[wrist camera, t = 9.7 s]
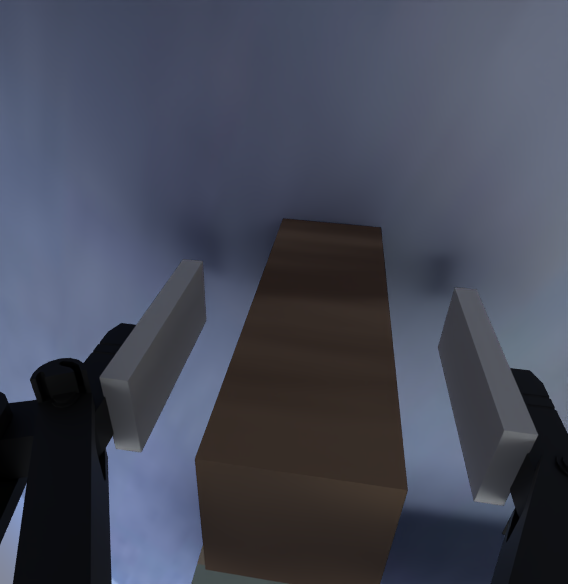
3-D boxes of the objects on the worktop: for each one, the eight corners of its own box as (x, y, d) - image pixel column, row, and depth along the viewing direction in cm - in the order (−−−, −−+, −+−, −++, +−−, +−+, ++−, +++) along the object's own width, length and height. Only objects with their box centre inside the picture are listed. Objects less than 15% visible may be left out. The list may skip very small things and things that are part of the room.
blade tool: (283, 218, 19) (194, 459, 9) (381, 227, 18) (407, 489, 8) (270, 504, 29) (224, 766, 19) (333, 513, 29) (320, 786, 19)
